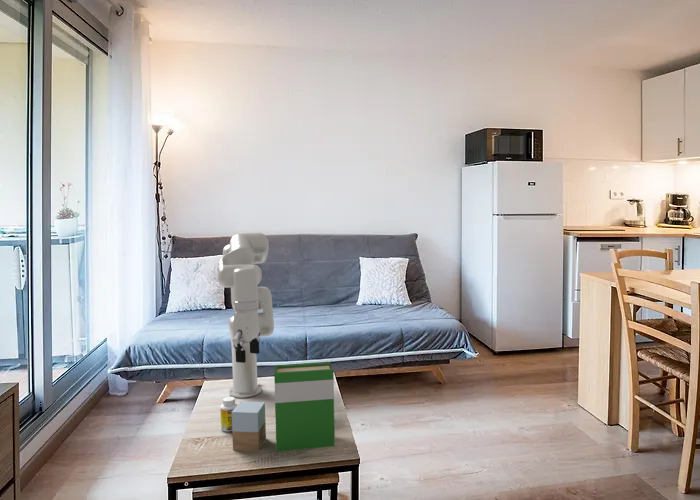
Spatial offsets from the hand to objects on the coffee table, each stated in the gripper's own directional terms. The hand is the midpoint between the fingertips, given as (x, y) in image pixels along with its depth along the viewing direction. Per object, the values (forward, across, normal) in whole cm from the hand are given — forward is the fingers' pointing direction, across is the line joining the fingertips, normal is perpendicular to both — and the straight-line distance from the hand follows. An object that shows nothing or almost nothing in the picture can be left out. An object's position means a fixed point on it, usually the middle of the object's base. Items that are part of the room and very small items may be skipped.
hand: (247, 357), depth 158 cm
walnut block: (+25, +9, +4) cm, 26 cm away
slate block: (+19, +9, +4) cm, 21 cm away
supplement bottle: (+25, 0, -7) cm, 26 cm away
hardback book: (+25, +4, +21) cm, 32 cm away
